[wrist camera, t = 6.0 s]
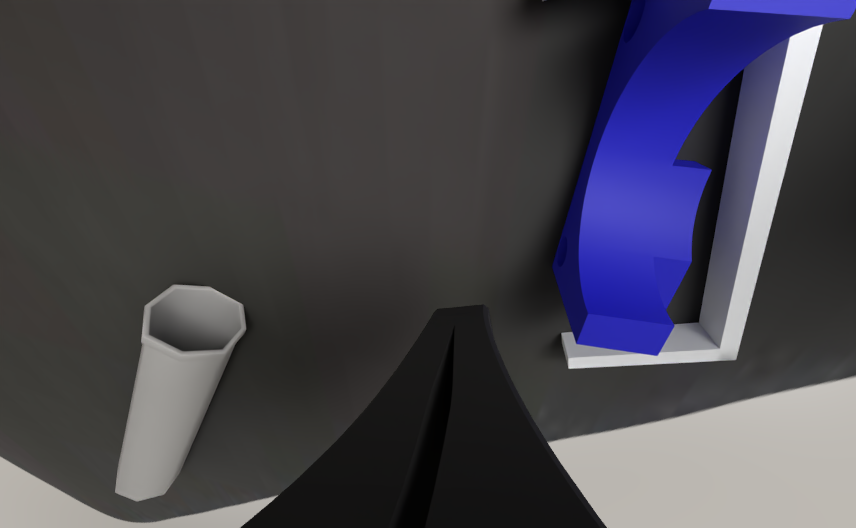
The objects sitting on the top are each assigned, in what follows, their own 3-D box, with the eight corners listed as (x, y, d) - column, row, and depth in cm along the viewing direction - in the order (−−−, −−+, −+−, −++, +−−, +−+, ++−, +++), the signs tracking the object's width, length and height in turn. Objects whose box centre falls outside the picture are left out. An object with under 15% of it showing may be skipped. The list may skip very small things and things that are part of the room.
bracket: (804, -105, 11) (863, -135, 9) (713, 332, 19) (735, 359, 17) (540, -26, 13) (549, -39, 11) (561, 343, 21) (568, 368, 19)
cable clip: (639, 276, 18) (699, 362, 13) (551, 264, 19) (576, 344, 14) (773, -16, 12) (984, -68, 7) (637, -25, 12) (743, -80, 7)
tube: (168, 512, 33) (234, 365, 20) (96, 510, 30) (119, 344, 18) (189, 451, 37) (256, 297, 24) (127, 446, 34) (165, 272, 22)
